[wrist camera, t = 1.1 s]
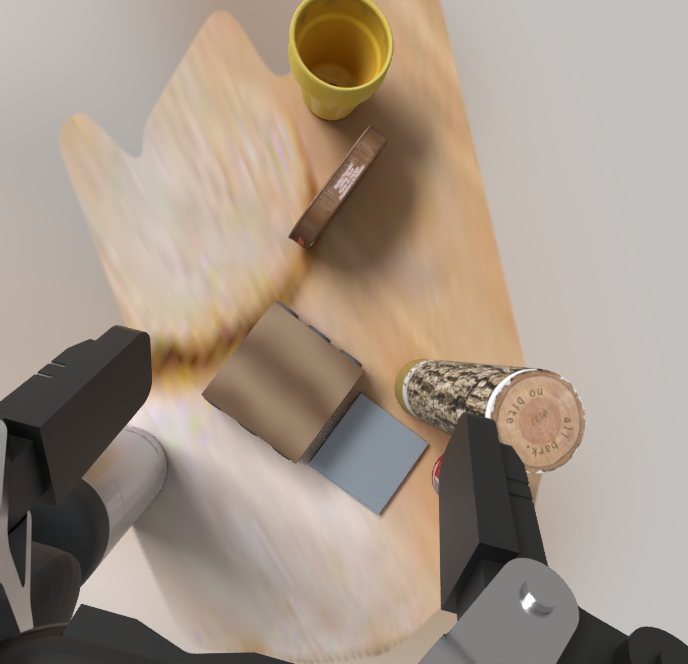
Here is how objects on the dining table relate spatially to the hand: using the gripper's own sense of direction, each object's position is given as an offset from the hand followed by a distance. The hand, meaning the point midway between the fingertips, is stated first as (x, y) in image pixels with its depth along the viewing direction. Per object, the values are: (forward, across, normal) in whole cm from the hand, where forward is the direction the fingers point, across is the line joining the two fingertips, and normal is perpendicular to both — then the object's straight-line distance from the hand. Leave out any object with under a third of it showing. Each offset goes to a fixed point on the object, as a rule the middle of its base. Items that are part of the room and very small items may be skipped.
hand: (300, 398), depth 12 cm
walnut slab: (+32, -6, -26) cm, 41 cm away
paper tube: (+36, +9, -25) cm, 45 cm away
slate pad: (+30, +5, -32) cm, 44 cm away
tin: (+45, -6, -8) cm, 46 cm away
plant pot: (+51, -9, +2) cm, 52 cm away
